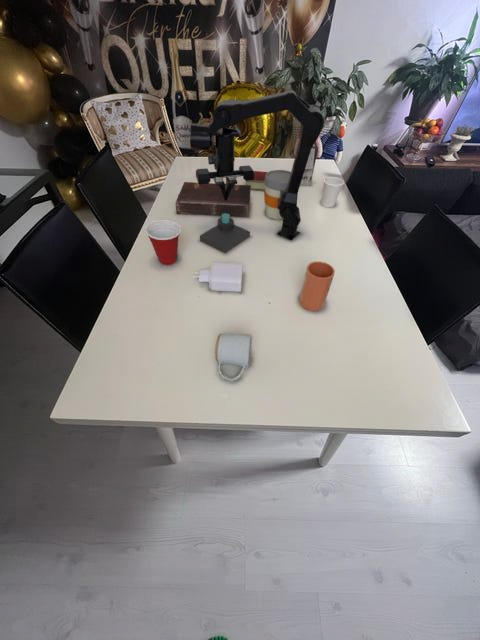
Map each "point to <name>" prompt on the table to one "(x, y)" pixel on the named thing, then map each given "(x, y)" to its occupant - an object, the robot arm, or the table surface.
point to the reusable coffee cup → (274, 191)
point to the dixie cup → (331, 190)
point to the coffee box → (310, 166)
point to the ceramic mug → (233, 351)
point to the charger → (222, 276)
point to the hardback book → (213, 200)
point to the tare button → (225, 218)
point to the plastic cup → (164, 239)
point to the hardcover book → (257, 181)
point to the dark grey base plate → (224, 236)
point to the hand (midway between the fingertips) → (225, 199)
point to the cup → (316, 285)
